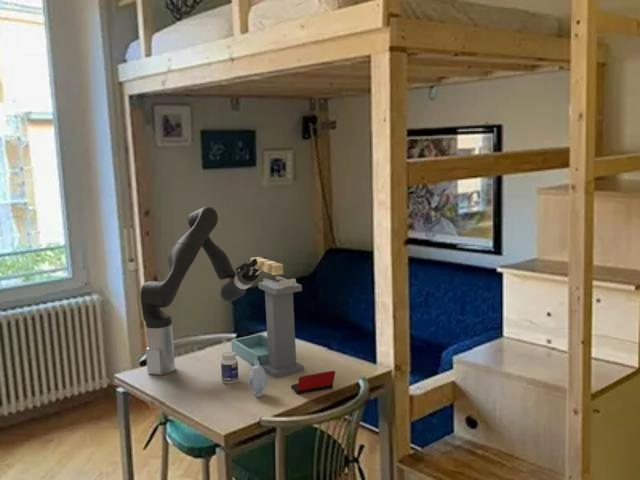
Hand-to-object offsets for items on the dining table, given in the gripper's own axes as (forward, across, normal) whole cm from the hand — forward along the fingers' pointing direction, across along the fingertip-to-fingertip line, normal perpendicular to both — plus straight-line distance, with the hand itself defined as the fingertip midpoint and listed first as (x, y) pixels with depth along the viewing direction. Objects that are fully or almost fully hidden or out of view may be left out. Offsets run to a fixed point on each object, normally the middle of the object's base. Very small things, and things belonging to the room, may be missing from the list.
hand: (260, 260), depth 235 cm
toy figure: (+6, -16, +48) cm, 51 cm away
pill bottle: (-9, -19, +40) cm, 45 cm away
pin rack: (-7, 0, +41) cm, 41 cm away
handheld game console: (+11, 0, +52) cm, 53 cm away
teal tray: (-24, 0, +31) cm, 39 cm away
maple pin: (+2, 0, +5) cm, 6 cm away
